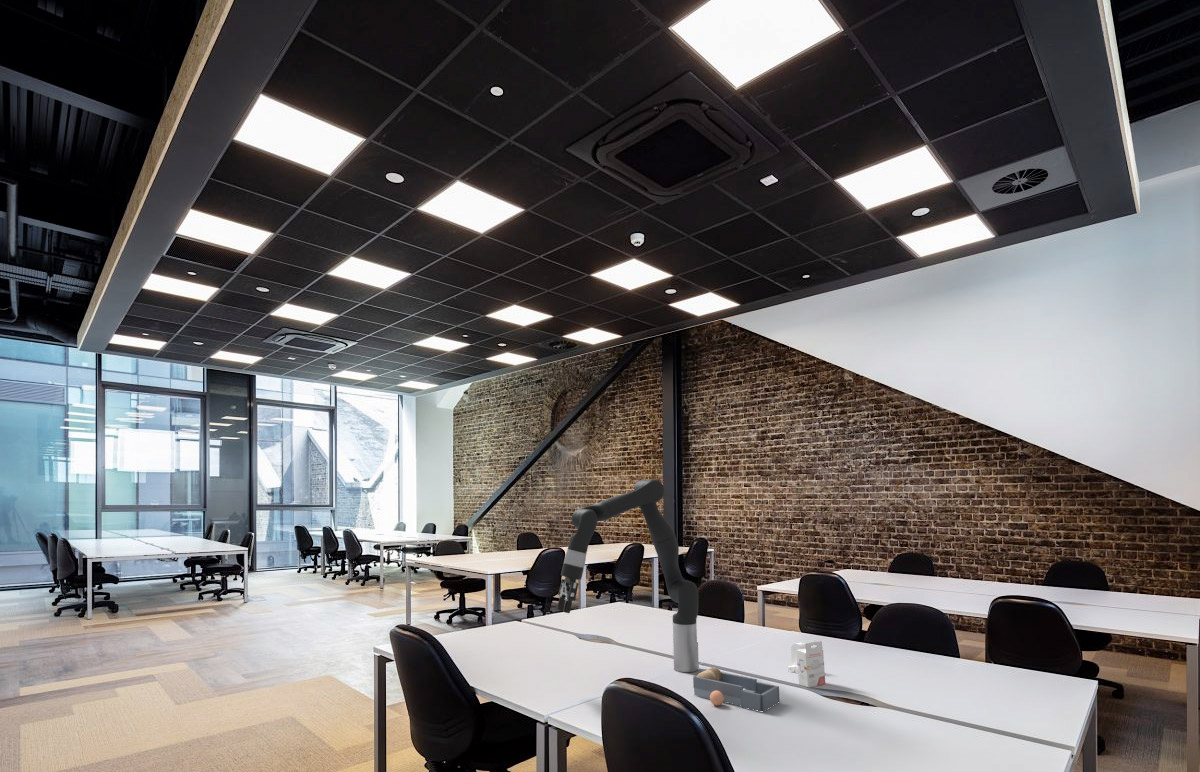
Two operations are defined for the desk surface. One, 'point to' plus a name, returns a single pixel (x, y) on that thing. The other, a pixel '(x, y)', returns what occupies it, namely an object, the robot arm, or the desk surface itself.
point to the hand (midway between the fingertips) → (563, 611)
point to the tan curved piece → (711, 674)
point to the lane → (739, 691)
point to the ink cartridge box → (811, 665)
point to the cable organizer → (795, 656)
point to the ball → (716, 698)
